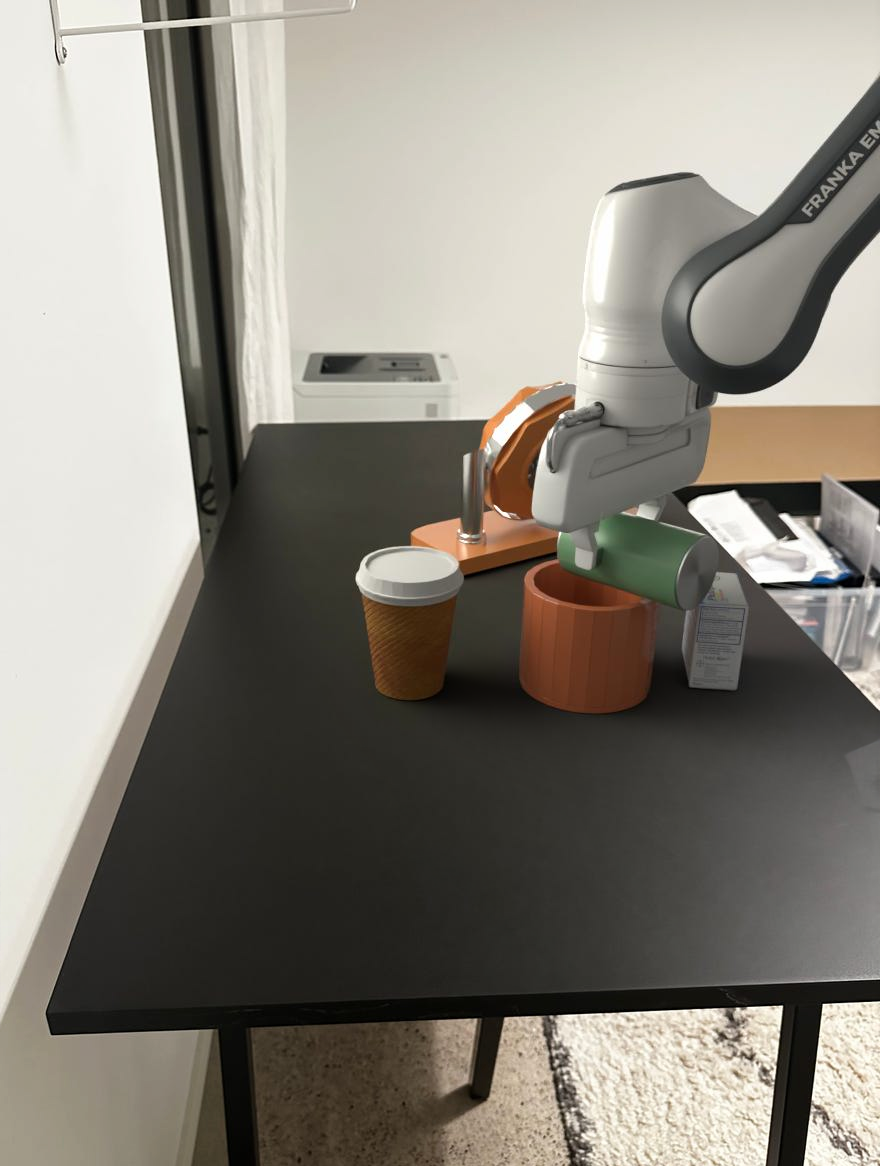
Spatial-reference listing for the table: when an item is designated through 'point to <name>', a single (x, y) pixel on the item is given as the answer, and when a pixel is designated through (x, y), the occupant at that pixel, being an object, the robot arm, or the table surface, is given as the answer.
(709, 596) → the medicine box
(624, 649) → the holder
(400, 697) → the disposable coffee cup
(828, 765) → the table surface
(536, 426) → the desk clock
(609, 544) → the can
